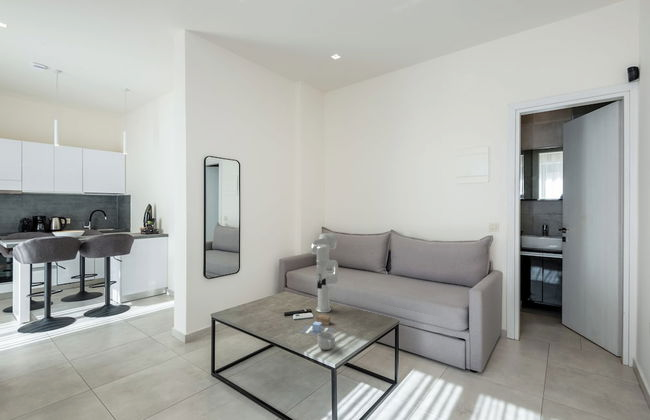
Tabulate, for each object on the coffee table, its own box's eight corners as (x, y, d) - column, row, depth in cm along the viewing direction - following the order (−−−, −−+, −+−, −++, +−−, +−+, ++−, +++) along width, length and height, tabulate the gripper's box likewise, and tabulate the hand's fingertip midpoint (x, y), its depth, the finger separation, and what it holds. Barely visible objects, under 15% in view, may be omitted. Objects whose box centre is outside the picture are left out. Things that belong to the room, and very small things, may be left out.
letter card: (306, 324, 225) (306, 324, 225) (334, 328, 219) (334, 328, 219) (299, 332, 212) (299, 332, 212) (328, 336, 206) (328, 336, 206)
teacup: (317, 343, 196) (317, 331, 196) (334, 343, 197) (334, 330, 197) (318, 354, 182) (318, 341, 182) (336, 354, 183) (336, 340, 183)
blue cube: (315, 328, 219) (315, 321, 219) (321, 329, 217) (321, 322, 217) (312, 331, 214) (312, 324, 214) (319, 332, 212) (319, 325, 212)
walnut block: (318, 321, 233) (318, 314, 232) (330, 322, 230) (330, 316, 230) (316, 323, 228) (316, 317, 228) (328, 325, 225) (328, 318, 225)
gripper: (320, 260, 233) (320, 283, 234) (312, 265, 217) (312, 289, 217) (330, 261, 231) (330, 284, 231) (323, 266, 214) (323, 290, 215)
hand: (321, 286), depth 224 cm, fingers open, 9 cm apart
